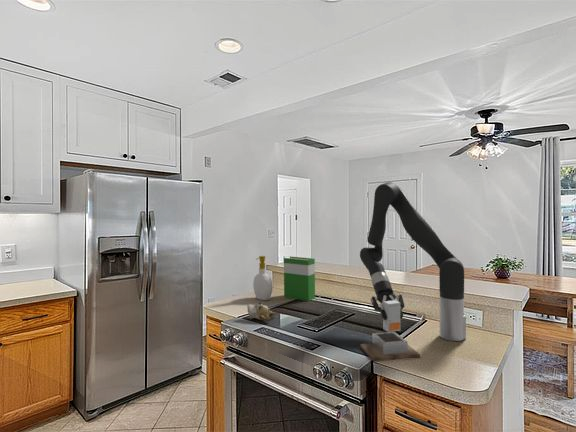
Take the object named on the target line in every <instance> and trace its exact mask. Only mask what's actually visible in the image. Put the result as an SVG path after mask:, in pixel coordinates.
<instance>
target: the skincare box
mask: <svg viewBox="0 0 576 432" xmlns="http://www.w3.org/2000/svg"><path fill="white" fill-rule="evenodd" d="M383 306H384V310H385V313H386V316H387V319H386V320H384V319H383V318H382V324H383V325H382V329H383V330H384V331H386V332H398V331H399V332H400V331H401V319H400V302H398V301H397V299H395V300H393V301H384V302H383Z"/></svg>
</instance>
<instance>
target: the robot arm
mask: <svg viewBox="0 0 576 432" xmlns="http://www.w3.org/2000/svg"><path fill="white" fill-rule="evenodd" d="M373 199H374V200H373V210H372V211H373V212H372V217H371V223H370V228H369V232H368V236H367V243H368V244H369V245H371V246H374V247H363V248H360V249H361V250H360V252H359V257H360V261H361V262H362V264H363V265H364V266H365V268H366V269H367V271H368V273H369V276H370V279H371V284H372V287H373V290H374V293H375V295H376V296H374V295H372V296H371V298H370V303H371V304H372V305H371V306H372V307H373V309H374V311H375V312H379V313H380V316H381V319H382V320H383V319H384V320H386V319H387V316H386V313H385V310H384V306H383V302H384V301H393V300H396V301H398V302H400V320H402V319H403V317H404V312H403V309H404V308H405V306H406V305H405V301H404V299H403V295H402V294H399V295H396V294H395V293H394V290H393V287H392V284H391V282H390V279H389V276H388V275H387V272H386V270H385V267H384V265H383V264H382V263H381V261H382V259H383V256H384V253H383V252H384V251H383V241H384V238H385V233H386V228H387V225H386V224H387V223H386V222H387V221H386V220H387V213H388V209H389V207H390V206H391V207H392V208H393V209H394V210H395V211H396V213H397V214H398V216H399V219H400V221H401V224H402V227H403V228H404V230H405V232H406V233H407V235H408V236H410V238H411V239H412V241H413V242H414V243H416V244H417V245H418V247H420V248H421V249H422V250H423V251H424V252H426V253H427V254H428V255H429V256H430V257H431V259H432V260H433V262H434V263H435V265H436V266H437V267H438V269H439V271H438V272H439V273H438V274H439V284H438V285H439V287H438V288H439V337H440V338H442V339H444V340H446V341H451V342H461V341H463V340H467V316H466V315H465V311H464V310H465V307H464V306H465V268H464V264H463V263H462V261H460V260H459V259H458V258H457V256H455V255H454V254H453V253H452V252H451V251H450V250H449V249H448V248H447V247H446V246H445V244H444V243H443V242H442V241H441V239H440V238H439V236H438V235H437V233H436V232H435V231H434V229H433V228H432V227H431V226H430V225H429V223H428V222H427V221H426V219H425V218H423V216H422V215H421V214H420V212H419V211H418V210H417V209H416V208H415V207H414V206H413V205H412V204H411V203H410V201H409V199H407V197H406V195H405V194H404V192H403V191H402V190H401V188H400V186H398V184H396V183H394V182H392V181H387V182H384V183H381V184H380V185H377V187H376V189H375V191H374V197H373ZM378 302H379V303H380V305H379V304H378Z"/></svg>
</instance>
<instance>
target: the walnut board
mask: <svg viewBox="0 0 576 432" xmlns="http://www.w3.org/2000/svg"><path fill="white" fill-rule="evenodd" d="M360 348H361V349H362V350H363V351H364V352H365V353H366V355H367V356H368V357H369V358H370V359H371V360H372V362H383V361H396V359H398V360H408V359H410V360H411V359H420V358H421V353H419V352H418V351H416V350H415V349H414V348H413V347H412V346H411V345H409V343H407V354H399V355H387V356H383V355H382V354H381V353H380V352H379V351H378V350H377V349H376V348H375V347H374V346H373V345H372V342H370V343H369V342H368V343H361V344H360Z"/></svg>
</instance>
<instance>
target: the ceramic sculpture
mask: <svg viewBox="0 0 576 432" xmlns="http://www.w3.org/2000/svg"><path fill="white" fill-rule="evenodd" d="M246 308H247V313H248V318H249V319H250V320H253V319H257V320H259V321H263V322H269V321H272V320H273V319H272V317H275V316H278V315H279V313H278V312H274V311H272V310H270V308H269V306H268V305H266V304H262V302H258V303H256V304H255V305H254V304H250V303H247V307H246Z"/></svg>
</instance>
